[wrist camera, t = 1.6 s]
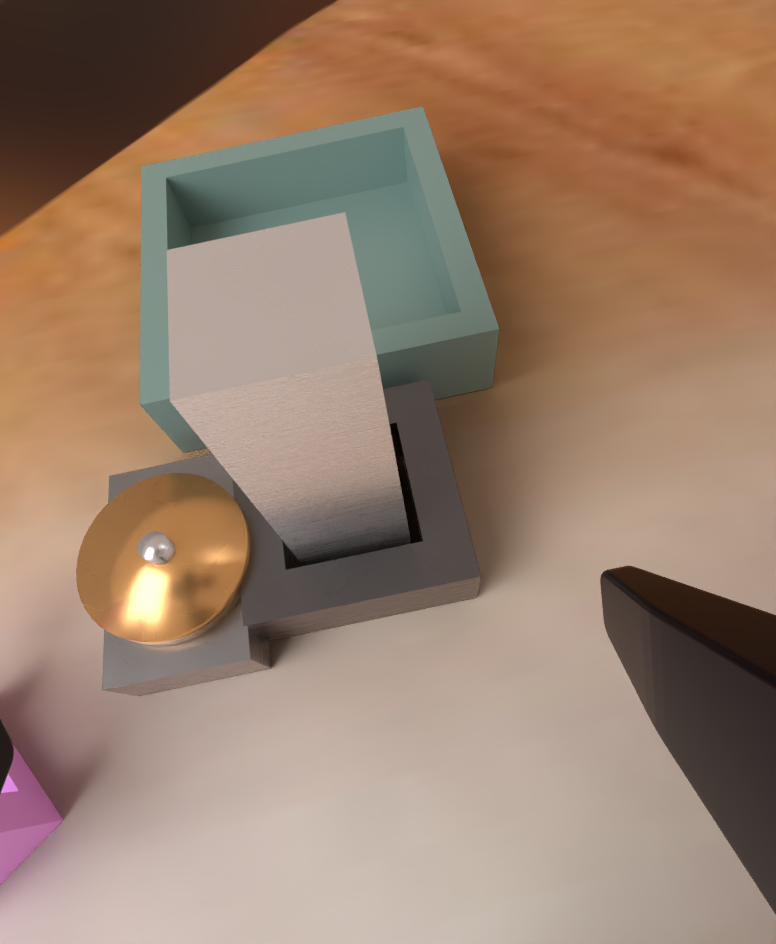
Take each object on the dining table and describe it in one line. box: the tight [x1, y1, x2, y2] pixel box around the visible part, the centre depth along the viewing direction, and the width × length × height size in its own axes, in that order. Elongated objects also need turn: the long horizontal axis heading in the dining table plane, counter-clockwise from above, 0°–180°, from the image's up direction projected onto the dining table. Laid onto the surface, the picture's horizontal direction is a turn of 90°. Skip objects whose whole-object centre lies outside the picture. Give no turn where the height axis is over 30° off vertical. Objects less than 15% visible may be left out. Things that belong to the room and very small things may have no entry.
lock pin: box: [167, 212, 411, 566], centre depth 18 cm, size 4×4×13 cm
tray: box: [140, 106, 499, 453], centre depth 27 cm, size 14×14×4 cm
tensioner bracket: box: [76, 379, 481, 696], centre depth 21 cm, size 9×14×4 cm, turn 101°
